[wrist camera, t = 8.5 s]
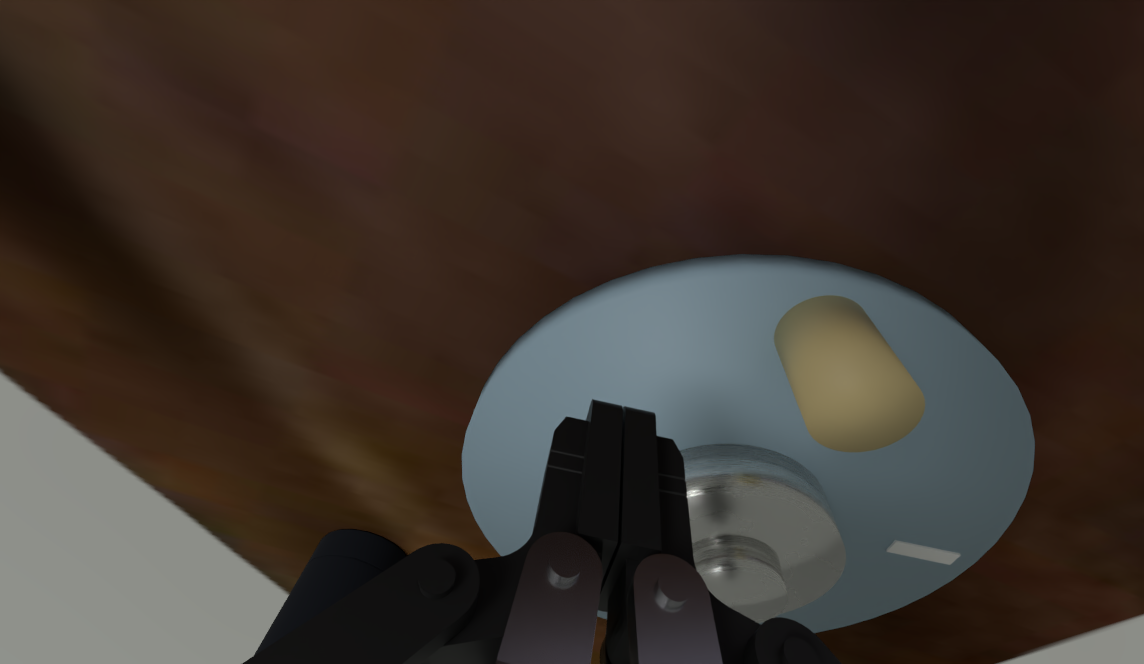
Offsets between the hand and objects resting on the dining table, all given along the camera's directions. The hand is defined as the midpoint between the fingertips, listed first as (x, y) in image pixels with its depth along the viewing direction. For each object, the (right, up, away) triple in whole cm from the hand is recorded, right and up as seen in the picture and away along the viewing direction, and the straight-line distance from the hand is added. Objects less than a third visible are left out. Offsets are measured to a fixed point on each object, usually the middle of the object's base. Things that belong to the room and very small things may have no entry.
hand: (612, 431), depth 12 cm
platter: (+6, -5, +12) cm, 14 cm away
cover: (+6, -6, +11) cm, 14 cm away
